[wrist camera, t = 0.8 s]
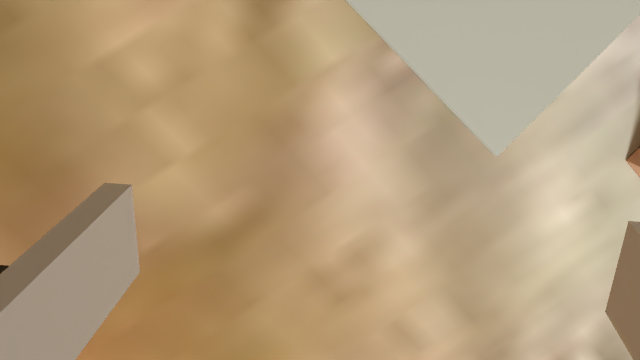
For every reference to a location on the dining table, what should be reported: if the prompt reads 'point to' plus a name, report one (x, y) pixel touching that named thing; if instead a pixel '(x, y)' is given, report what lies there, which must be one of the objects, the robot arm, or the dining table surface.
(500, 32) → the mat
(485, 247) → the dining table surface
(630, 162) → the dish
